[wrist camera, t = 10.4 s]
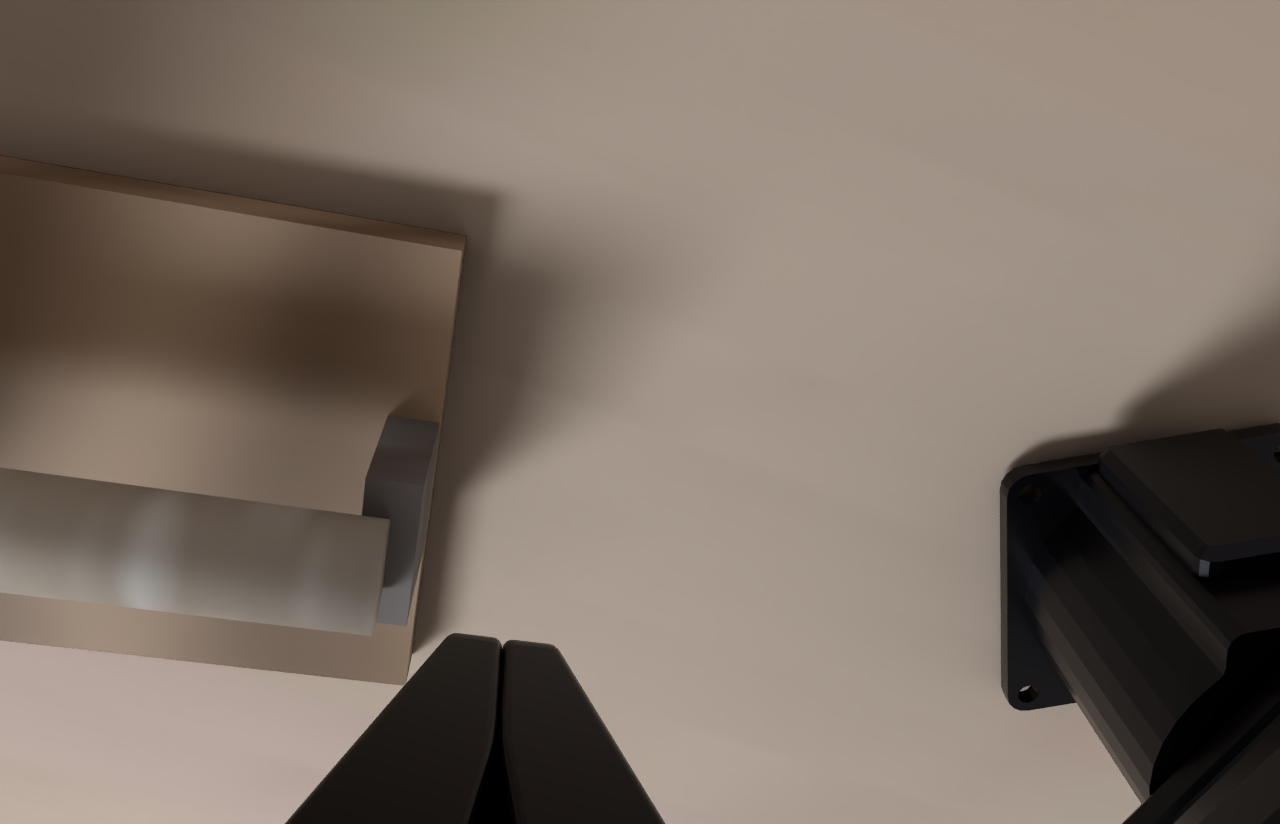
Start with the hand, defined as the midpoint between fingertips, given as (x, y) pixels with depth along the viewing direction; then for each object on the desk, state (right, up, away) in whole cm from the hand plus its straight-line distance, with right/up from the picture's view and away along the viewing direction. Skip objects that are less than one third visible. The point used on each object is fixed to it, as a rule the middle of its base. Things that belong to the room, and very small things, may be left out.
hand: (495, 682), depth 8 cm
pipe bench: (-11, +2, +12) cm, 17 cm away
